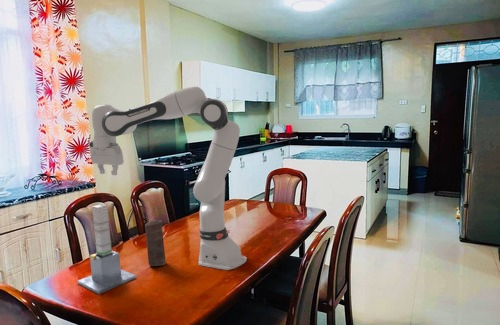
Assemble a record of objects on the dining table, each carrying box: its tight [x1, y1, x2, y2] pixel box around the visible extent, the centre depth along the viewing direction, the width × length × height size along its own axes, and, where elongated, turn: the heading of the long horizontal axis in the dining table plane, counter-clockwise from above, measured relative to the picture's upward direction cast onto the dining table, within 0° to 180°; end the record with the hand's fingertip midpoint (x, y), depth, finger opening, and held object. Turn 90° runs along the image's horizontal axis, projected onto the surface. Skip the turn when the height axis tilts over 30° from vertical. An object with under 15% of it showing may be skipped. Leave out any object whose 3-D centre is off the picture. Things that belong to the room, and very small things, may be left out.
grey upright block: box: [144, 219, 167, 267], centre depth 154 cm, size 8×7×20 cm
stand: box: [77, 250, 137, 295], centre depth 141 cm, size 16×16×12 cm
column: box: [91, 203, 113, 258], centre depth 139 cm, size 4×4×22 cm
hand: (108, 174), depth 153 cm, fingers open, 8 cm apart
